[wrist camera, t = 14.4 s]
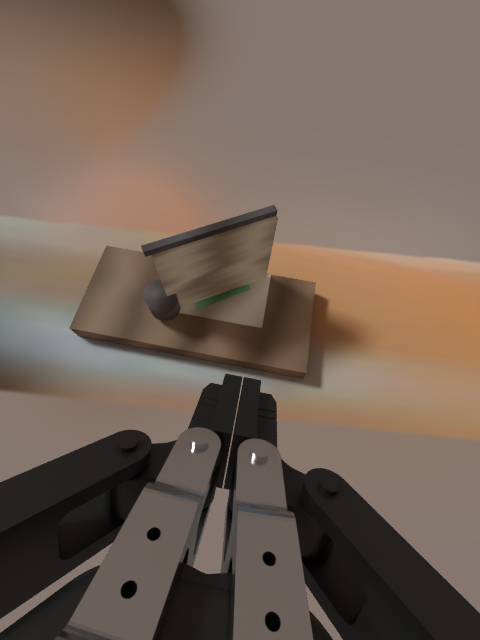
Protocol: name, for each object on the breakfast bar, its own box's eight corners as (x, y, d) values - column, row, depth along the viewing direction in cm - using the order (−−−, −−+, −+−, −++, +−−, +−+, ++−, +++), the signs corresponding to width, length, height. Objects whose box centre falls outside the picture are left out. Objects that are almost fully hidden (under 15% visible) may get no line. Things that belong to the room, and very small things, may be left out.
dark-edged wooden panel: (155, 325, 31) (127, 271, 22) (147, 300, 32) (116, 239, 23) (269, 284, 33) (284, 221, 25) (257, 262, 35) (267, 194, 26)
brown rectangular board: (78, 335, 33) (67, 326, 31) (112, 256, 38) (105, 243, 35) (302, 378, 32) (307, 372, 30) (311, 291, 36) (316, 280, 34)
